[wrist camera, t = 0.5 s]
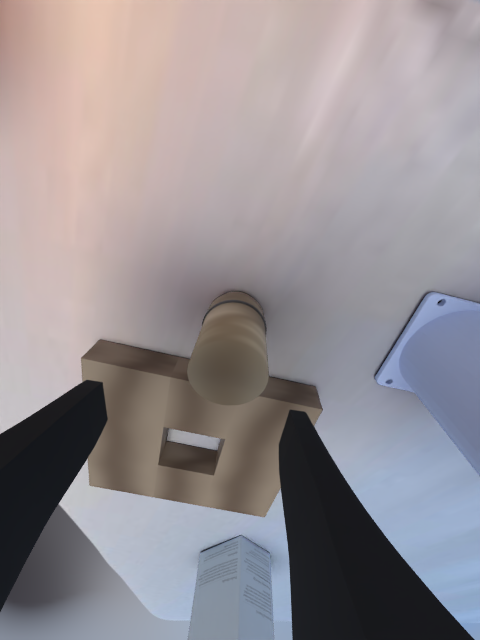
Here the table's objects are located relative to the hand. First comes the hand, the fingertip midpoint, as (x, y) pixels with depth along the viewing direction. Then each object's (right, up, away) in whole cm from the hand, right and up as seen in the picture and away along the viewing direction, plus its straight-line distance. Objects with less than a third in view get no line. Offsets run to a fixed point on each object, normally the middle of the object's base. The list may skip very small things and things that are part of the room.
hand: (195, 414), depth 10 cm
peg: (+2, +4, +9) cm, 10 cm away
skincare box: (+1, -28, +26) cm, 39 cm away
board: (-2, -7, +15) cm, 16 cm away
